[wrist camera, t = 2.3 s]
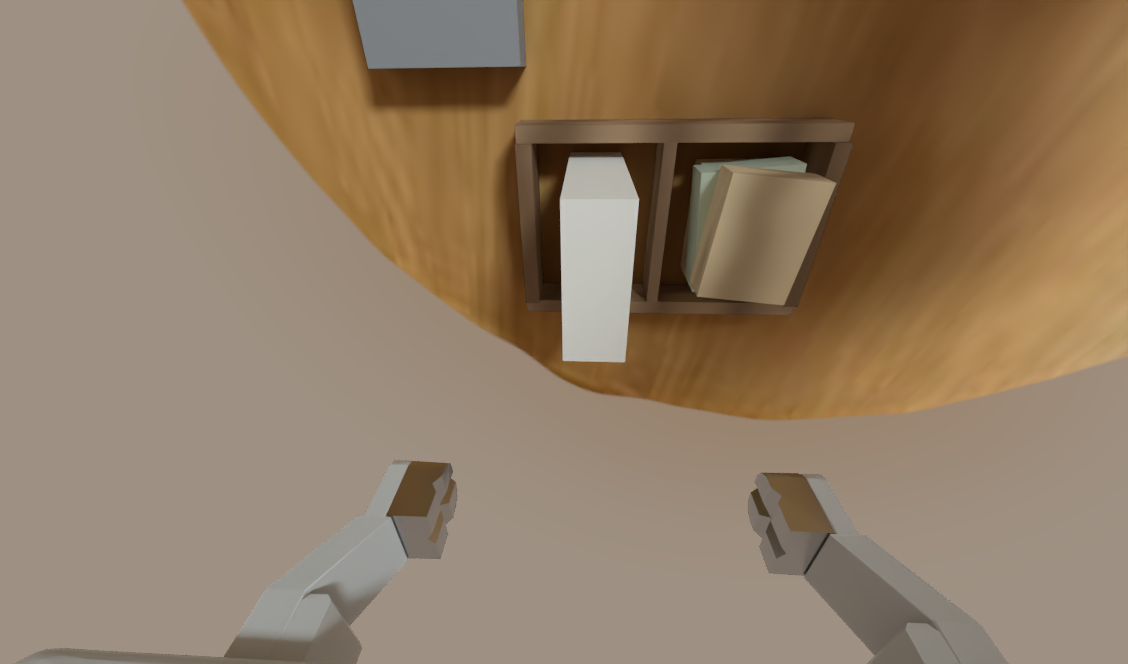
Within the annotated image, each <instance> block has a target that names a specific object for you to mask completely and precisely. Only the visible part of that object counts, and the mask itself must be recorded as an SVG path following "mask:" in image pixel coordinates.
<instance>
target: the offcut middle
mask: <svg viewBox="0 0 1128 664" xmlns="http://www.w3.org/2000/svg"><path fill="white" fill-rule="evenodd" d="M722 164H723V165H733V166H743V167H753V168H763V169H773V170H783V171H794V172H804V173H805V171H806V166H807V164H806V163H804V162H802V161H800V160H797V159H795V158H793V157H791V156H788V157H777V158H766V159H755V160H744V161H733V162H722V163H712V164H701V165H693V174H692V189H691V204H690V218H689V233H688V248H687V263H686V280H687V282H688V284H689V286H690V288H691V291H692V292H695V291H694V289H693V287H692V285H691V283H690V277H691V274H692V270H693V266H694V263H695V259H696V255H697V252H698V248H699V245H700V241H701V237H702V234H703V230H704V226H705V223H706V219H707V216H708V212H709V208H710V205H711V201H712V198H713V194H714V190H715V187H716V183H717V180H718V176H719V172H720V168H721V165H722Z"/></svg>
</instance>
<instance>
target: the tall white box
mask: <svg viewBox="0 0 1128 664" xmlns="http://www.w3.org/2000/svg"><path fill="white" fill-rule="evenodd" d="M638 207H639V198H638V195H637V192H636V190H635V187H634V184H633V182H632V179H631V177H630V174H629V171H628V169H627V166H626V164H625V161H624V158H623V156H622V153H621V152H570V156H569V160H568V165H567V169H566V174H565V178H564V183H563V187H562V192H561V197H560V232H561V290H562V348H563V361H591V362H625V356H626V345H627V333H628V322H629V310H630V299H631V287H632V276H633V264H634V253H635V241H636V230H637V218H638Z"/></svg>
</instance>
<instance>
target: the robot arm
mask: <svg viewBox="0 0 1128 664" xmlns="http://www.w3.org/2000/svg"><path fill="white" fill-rule="evenodd" d="M452 473H453V470H452V466H451V464H450V463H436V462H419V461H399V460H398V461H397V460H394V461H393V462H392V463H391V464H390V465H389V467H388V469H387V471H386V473H385V475H384V477H383V479H382V481H381V483H380V485H379V487H378V489H377V491H376V493H375V495H374V497H373V499H372V501H371V503H370V505H369V507H368V508H367V510H366V512H365V514H364V515H363V516H362V515H359V516H357V517H356V518H355V519H353V520H352V521H351V522H350V523H348V524H347V525H346V526H345V527H343V528H342V529H341V530H340V531H338V532H337V533H336V534H334V535H333V536H332V537H331V538H329V539H328V540H327V541H326V542H324V543H323V544H322V545H321V546H319V547H318V548H317V549H316V550H314V551H313V552H312V553H311V554H309V555H308V556H307V557H306V558H304V559H303V560H302V561H301V562H299V563H298V564H297V565H296V566H294V567H293V568H292V569H291V570H289V571H288V572H287V573H286V574H284V575H283V576H282V577H281V578H279V579H278V580H277V581H276V582H274V583H273V584H272V585H270V586H269V587H268V588H267V589H266V590H265V591H264V593H263V594H262V596H261V598H260V599H259V601H258V602H257V604H256V606H255V607H254V609H253V611H252V612H251V614H250V615H249V617H248V619H247V620H246V622H245V623H244V625H243V627H242V628H241V630H240V631H239V633H238V635H237V636H236V638H235V640H234V641H233V643H232V644H231V646H230V647H229V649H228V651H227V652H226V654H225V656H224V657H209V656H191V655H189V656H188V655H172V654H154V653H153V654H152V653H136V652H135V653H134V652H117V651H99V650H85V649H69V648H58V649H57V648H54V649H46V650H42V651H39V652H36V653H34V654H32V655H30V656H28V657H26V658H24V659H22V660H20V661H18V662H16V663H15V664H356V663H357V660H358V657H359V655H360V652H361V650H362V647H361V644H360V641H359V640H358V638H357V637H356V635H355V634H354V632H353V631H352V629H351V628H350V625H351V624H352V623H353V622H354V620H355V619H356V618H357V617H358V616H359V615H360V614H361V613H362V611H363V610H364V609H365V608H366V607H367V606H368V605H369V603H370V602H371V601H372V600H373V599H374V598H375V597H376V596H377V595H378V593H379V592H380V591H381V590H382V589H383V588H384V587H385V586H386V585H387V583H388V582H389V581H390V580H391V579H392V577H394V575H395V574H396V573H397V572H398V571H399V570H400V569H401V568H402V567H403V565H404V564H405V563H406V562H407V561H408V558H430V559H440V558H441V555H442V552H443V549H444V545H445V542H446V539H447V535H448V533H447V528H446V524H447V523H448V522H449V521H450V520H451V519H452V518H453V515H454V512H455V508H456V501H457V486H456V482H455V481H454V480H452V479H451V476H452ZM755 483H756V486H757V489H756V490H754V491H752V492H751V493H750V496H749V499H748V513H749V518H750V522H751V525H752V528H753V530H754V531H755V532H756V533H757V534H758V535H759V536H761V537H762V541H761V544H760V550H761V552H762V555H763V558H764V561H765V563H766V566H767V569H768V571H769V573H774V574H788V575H802V576H805V577H804V578H805V579H806V580H807V581H808V582H809V584H810V585H811V586H812V587H813V588H814V589H815V590H816V591H817V592H818V593H819V594H820V596H821V597H822V598H823V599H824V600H825V601H826V602H827V603H828V604H829V605H830V607H831V608H832V609H833V610H834V611H835V612H836V613H837V614H838V615H839V617H840V618H841V619H842V620H843V621H844V622H845V623H846V624H847V625H848V627H849V628H851V630H852V631H853V632H854V633H855V634H856V635H857V636H858V638H859V639H861V641H862V642H863V643H864V644H865V645H866V646H867V647H868V649H869V650H870V651H871V652H872V653H873V654H874V655H875V656H874V657H873V658H872V659H871V660H870V661H869V662H868V663H867V664H1008V662H1007V661H1006V660H1005V658H1004V657H1003V655H1002V654H1001V652H1000V651H999V650H998V648H997V647H996V646H995V644H994V643H993V641H992V640H991V638H990V637H989V635H988V634H987V633H986V631H985V630H984V628H983V627H982V626H981V625H980V624H979V623H978V622H977V621H975V620H974V619H973V618H972V617H970V616H969V615H968V614H966V613H965V612H964V611H963V610H961V609H960V608H959V607H957V606H956V605H955V604H954V603H952V602H951V601H950V600H948V599H947V598H946V597H944V596H943V595H942V594H940V593H939V592H938V591H937V590H935V589H934V588H933V587H932V586H930V585H929V584H928V583H926V582H925V581H924V580H923V579H921V578H920V577H919V576H917V575H916V574H915V573H914V572H912V571H911V570H910V569H908V568H907V567H906V566H905V565H903V564H902V563H901V562H899V561H898V560H897V559H896V558H894V557H893V556H892V555H890V554H889V553H888V552H887V551H885V550H884V549H883V548H881V547H880V546H879V545H877V544H876V543H875V542H874V541H872V540H871V539H870V538H868V537H867V536H865V535H859V533H858V531H857V530H856V528H855V526H854V525H853V523H852V521H851V520H850V518H849V516H848V515H847V513H846V512H845V510H844V508H843V506H842V505H841V503H840V501H839V500H838V498H837V496H836V495H835V493H834V491H833V489H832V488H831V486H830V484H829V483H828V481H827V480H826V478H825V477H824V476H822V475H818V474H798V473H797V474H796V473H760V474H759V475H757V478H756V480H755Z"/></svg>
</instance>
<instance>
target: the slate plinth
mask: <svg viewBox="0 0 1128 664" xmlns="http://www.w3.org/2000/svg"><path fill="white" fill-rule="evenodd" d="M353 5H354V9H355V13H356V18H357V22H358V26H359V31H360V35H361V39H362V44H363V48H364V52H365V57H366V61H367V65H368V69H395V68H462V67H526V55H525V36H524V17H523V0H353Z"/></svg>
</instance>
